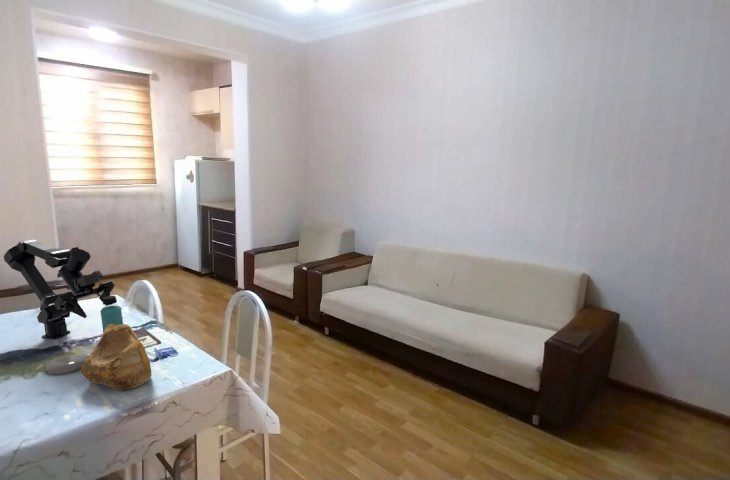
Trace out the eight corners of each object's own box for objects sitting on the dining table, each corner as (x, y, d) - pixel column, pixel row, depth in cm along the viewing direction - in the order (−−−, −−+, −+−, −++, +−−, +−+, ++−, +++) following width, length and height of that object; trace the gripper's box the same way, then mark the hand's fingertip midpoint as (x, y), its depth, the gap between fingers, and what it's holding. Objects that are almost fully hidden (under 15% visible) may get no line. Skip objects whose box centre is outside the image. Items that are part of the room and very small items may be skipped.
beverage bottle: (116, 356, 143) (110, 300, 139) (100, 354, 144) (93, 299, 140) (131, 348, 149) (125, 294, 145) (115, 346, 150) (108, 293, 146)
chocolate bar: (143, 327, 166) (161, 341, 154) (143, 330, 166) (161, 344, 154) (118, 334, 159) (134, 349, 147) (118, 336, 160) (134, 351, 147)
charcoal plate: (36, 373, 131) (36, 369, 131) (68, 355, 143) (68, 352, 142) (70, 376, 129) (69, 373, 129) (100, 358, 141) (99, 355, 141)
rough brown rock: (77, 376, 131) (66, 333, 127) (134, 356, 142) (126, 315, 138) (95, 411, 115) (84, 363, 111) (158, 384, 126) (150, 340, 122)
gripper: (54, 271, 137) (80, 308, 135) (108, 259, 154) (132, 292, 152) (43, 291, 142) (68, 327, 139) (96, 277, 159) (120, 309, 156)
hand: (99, 312), depth 147 cm, fingers open, 9 cm apart
